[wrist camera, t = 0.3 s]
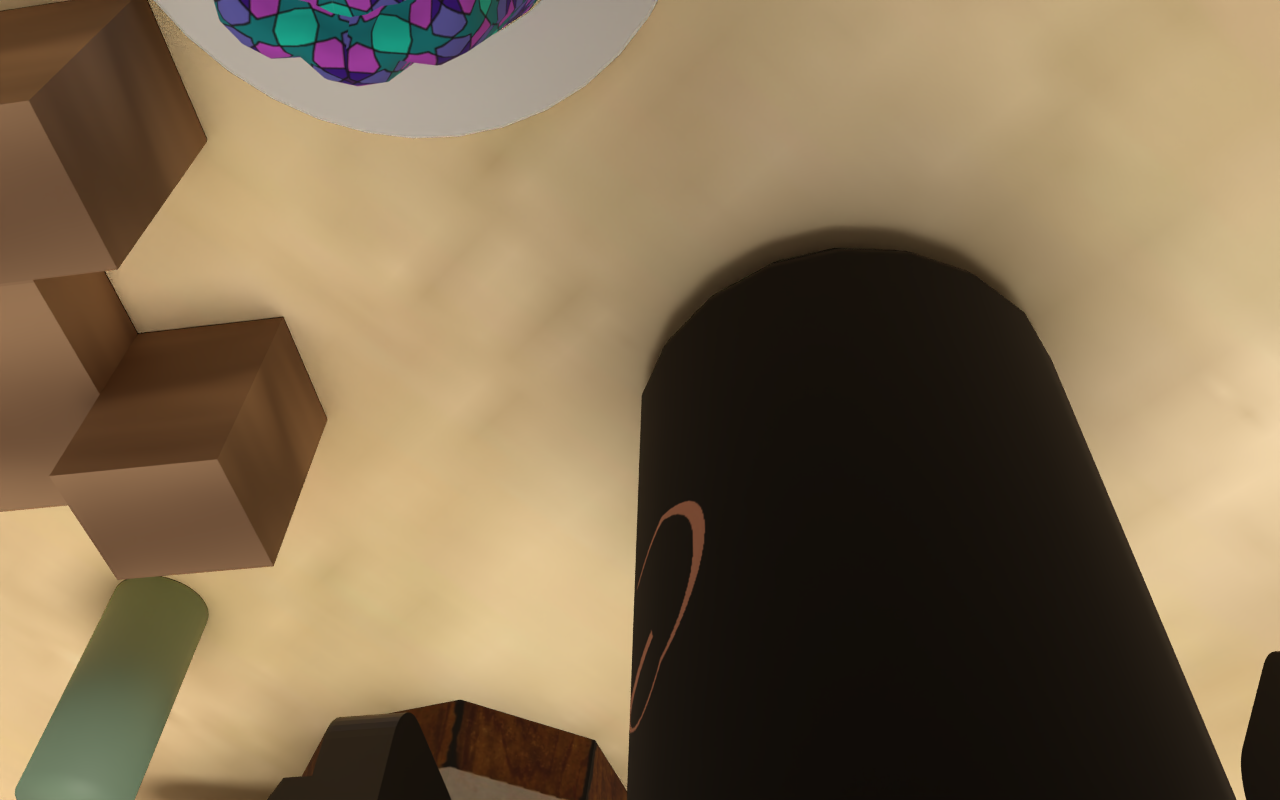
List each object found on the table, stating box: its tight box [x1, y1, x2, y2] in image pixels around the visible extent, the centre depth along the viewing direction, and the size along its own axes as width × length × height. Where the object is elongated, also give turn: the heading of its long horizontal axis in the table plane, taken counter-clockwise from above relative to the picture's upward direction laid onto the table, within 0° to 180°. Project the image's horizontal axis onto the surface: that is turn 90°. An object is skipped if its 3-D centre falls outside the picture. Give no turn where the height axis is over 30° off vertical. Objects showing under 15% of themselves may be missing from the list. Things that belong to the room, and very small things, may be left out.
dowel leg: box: [15, 576, 208, 800], centre depth 34 cm, size 3×3×7 cm
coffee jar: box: [627, 248, 1236, 800], centre depth 23 cm, size 11×11×18 cm
